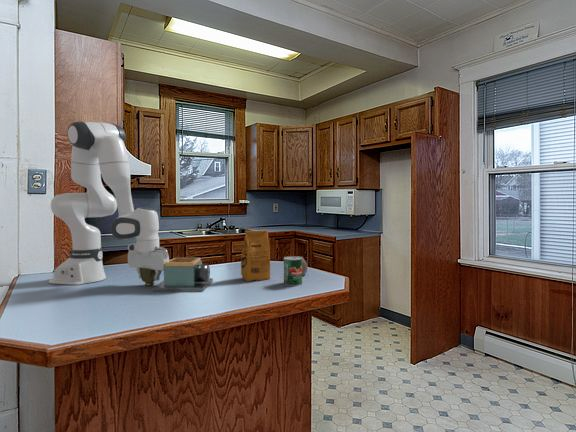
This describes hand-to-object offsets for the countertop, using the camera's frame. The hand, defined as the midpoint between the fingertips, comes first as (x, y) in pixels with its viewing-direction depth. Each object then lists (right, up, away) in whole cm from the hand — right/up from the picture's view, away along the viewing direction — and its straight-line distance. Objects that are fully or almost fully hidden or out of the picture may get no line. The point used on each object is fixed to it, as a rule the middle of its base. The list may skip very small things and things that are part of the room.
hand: (149, 279), depth 149 cm
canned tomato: (+60, -2, +2) cm, 60 cm away
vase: (+64, -2, +18) cm, 66 cm away
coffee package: (+43, -2, +12) cm, 45 cm away
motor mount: (+15, -3, -1) cm, 15 cm away
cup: (0, -3, 0) cm, 3 cm away
